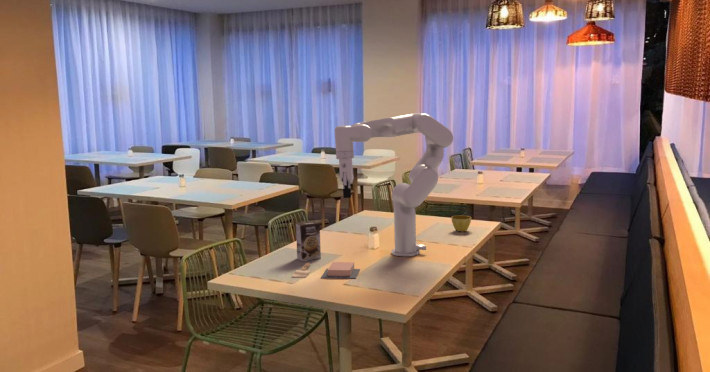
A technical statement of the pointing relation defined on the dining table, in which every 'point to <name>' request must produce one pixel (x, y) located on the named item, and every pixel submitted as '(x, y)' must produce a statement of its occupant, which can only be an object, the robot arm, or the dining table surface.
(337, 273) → the pale grey upright block
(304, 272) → the beech turner
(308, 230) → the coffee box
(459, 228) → the flower pot
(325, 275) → the charcoal mat
